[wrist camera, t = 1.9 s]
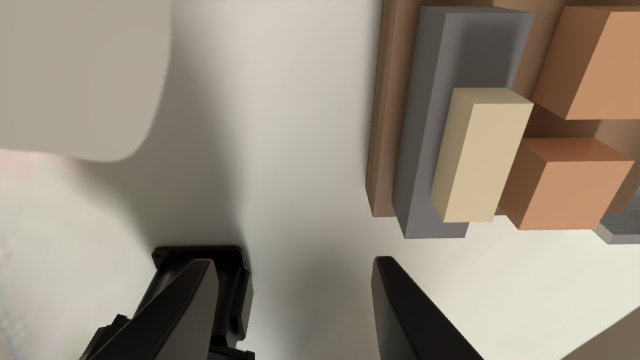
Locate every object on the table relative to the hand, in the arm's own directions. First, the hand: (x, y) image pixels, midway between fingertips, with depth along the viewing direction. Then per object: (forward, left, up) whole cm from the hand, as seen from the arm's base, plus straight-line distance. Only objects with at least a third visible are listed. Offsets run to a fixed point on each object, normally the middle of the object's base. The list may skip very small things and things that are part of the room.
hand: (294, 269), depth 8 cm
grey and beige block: (+6, 0, -10) cm, 12 cm away
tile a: (+13, -3, -10) cm, 16 cm away
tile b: (+13, +3, -10) cm, 16 cm away
